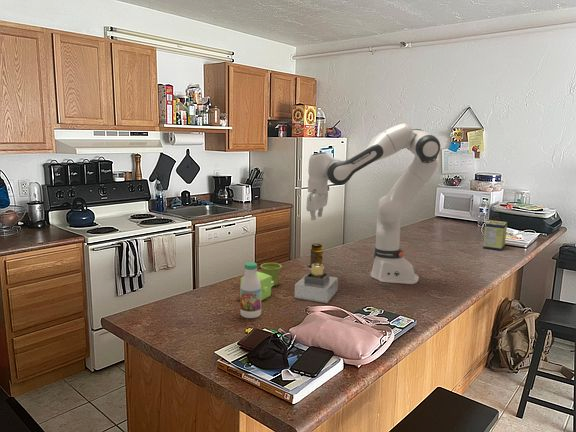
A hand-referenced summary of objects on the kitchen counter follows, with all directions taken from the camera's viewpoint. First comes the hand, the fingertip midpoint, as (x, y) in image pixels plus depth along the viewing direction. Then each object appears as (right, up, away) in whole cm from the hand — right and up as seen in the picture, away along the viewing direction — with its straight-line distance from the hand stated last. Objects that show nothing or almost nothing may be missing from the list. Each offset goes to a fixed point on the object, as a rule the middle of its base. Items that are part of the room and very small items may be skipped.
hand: (316, 218), depth 208 cm
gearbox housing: (-1, -32, -14) cm, 35 cm away
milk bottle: (-27, -36, -37) cm, 59 cm away
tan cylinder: (-1, -26, -16) cm, 31 cm away
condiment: (+1, -25, +24) cm, 35 cm away
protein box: (+114, -18, +72) cm, 136 cm away
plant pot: (-21, -30, -3) cm, 37 cm away
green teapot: (-26, -33, -20) cm, 47 cm away
